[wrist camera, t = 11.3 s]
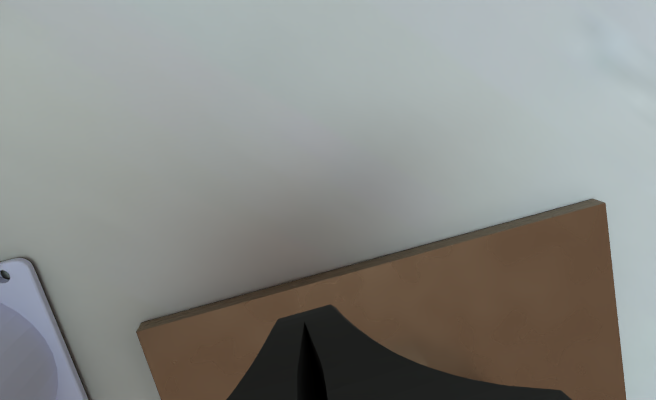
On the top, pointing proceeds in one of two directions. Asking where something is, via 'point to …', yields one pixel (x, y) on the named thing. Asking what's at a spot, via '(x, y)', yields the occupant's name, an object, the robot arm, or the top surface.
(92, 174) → the top surface
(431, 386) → the robot arm
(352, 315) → the square bronze board
